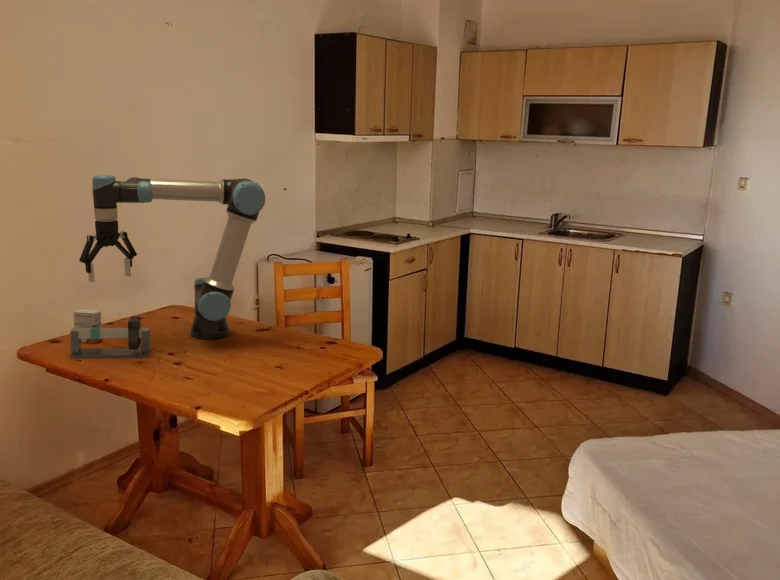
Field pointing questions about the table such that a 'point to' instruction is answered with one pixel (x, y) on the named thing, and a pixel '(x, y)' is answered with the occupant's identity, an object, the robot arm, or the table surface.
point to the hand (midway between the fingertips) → (110, 278)
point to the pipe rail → (99, 333)
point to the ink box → (87, 322)
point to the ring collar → (134, 333)
